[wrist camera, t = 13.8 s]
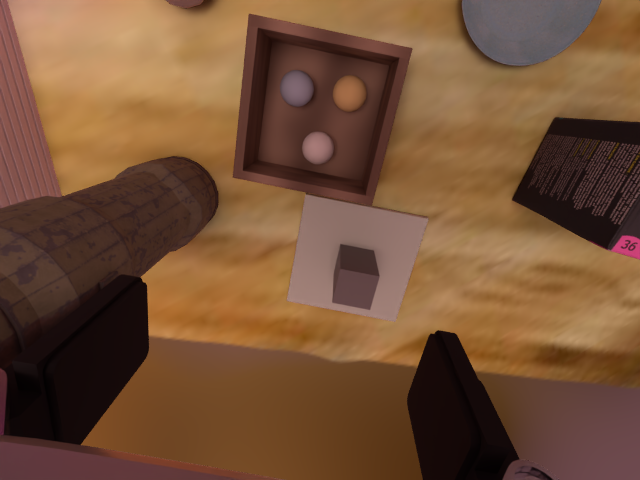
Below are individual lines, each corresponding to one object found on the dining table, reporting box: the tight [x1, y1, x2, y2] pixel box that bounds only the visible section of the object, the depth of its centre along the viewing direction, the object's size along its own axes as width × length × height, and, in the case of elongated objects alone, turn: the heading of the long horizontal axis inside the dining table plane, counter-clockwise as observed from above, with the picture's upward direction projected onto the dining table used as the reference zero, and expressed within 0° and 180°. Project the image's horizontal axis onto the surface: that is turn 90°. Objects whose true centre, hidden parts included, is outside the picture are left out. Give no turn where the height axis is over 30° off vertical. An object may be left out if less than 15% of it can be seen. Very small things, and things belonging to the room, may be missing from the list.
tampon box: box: [513, 117, 640, 259], centre depth 30 cm, size 11×9×15 cm
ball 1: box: [280, 70, 314, 107], centre depth 33 cm, size 3×3×3 cm
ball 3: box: [333, 75, 367, 112], centre depth 33 cm, size 3×3×3 cm
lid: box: [287, 193, 428, 322], centre depth 39 cm, size 14×14×8 cm
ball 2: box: [302, 132, 334, 164], centre depth 35 cm, size 3×3×3 cm
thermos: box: [0, 156, 218, 370], centre depth 24 cm, size 9×12×35 cm
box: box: [233, 14, 412, 206], centre depth 33 cm, size 13×13×7 cm
